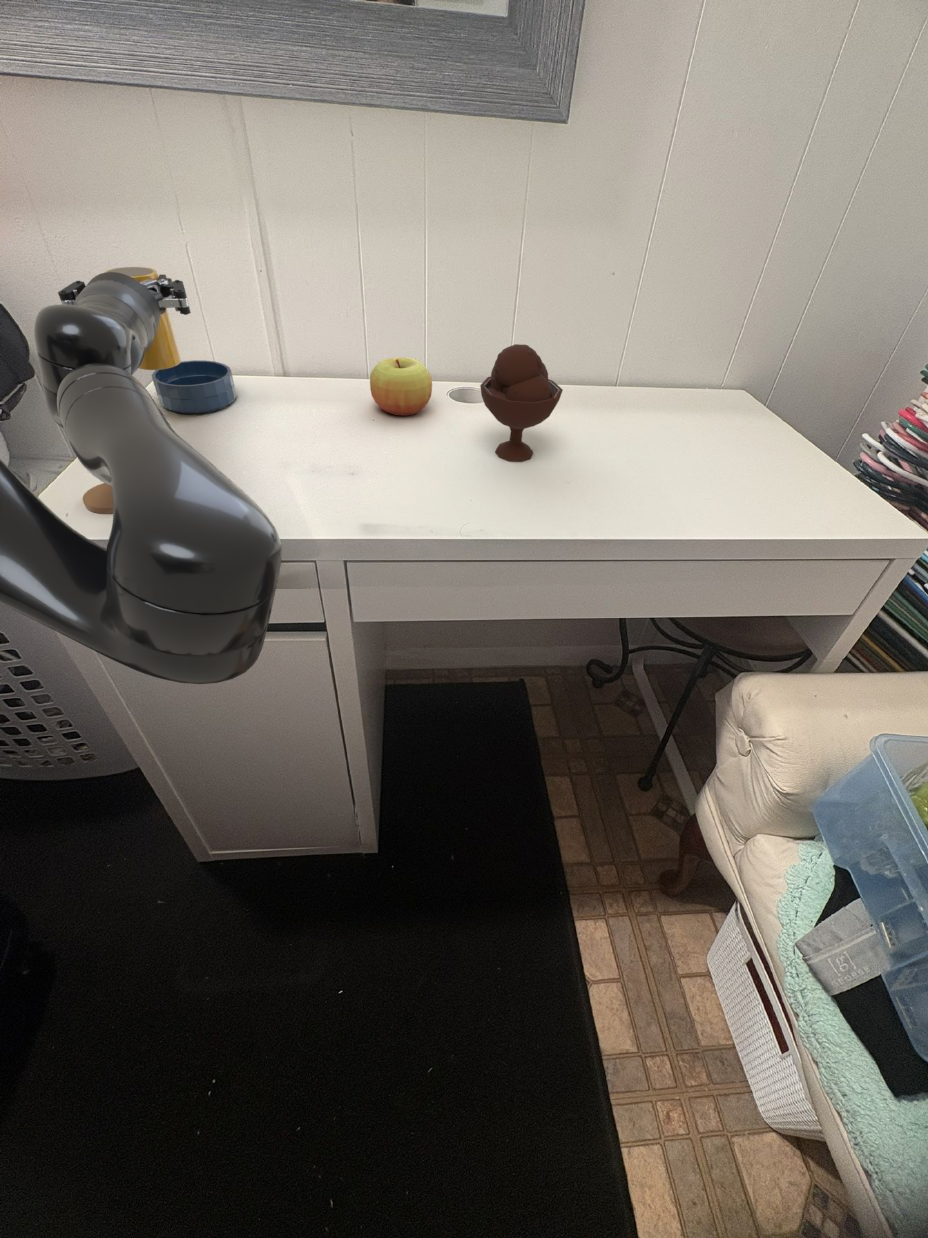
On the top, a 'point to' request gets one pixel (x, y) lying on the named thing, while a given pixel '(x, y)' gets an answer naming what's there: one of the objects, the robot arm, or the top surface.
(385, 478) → the top surface
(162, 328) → the cup
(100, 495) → the coaster
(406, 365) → the apple
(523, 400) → the ice cream bowl
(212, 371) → the bowl
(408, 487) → the top surface
